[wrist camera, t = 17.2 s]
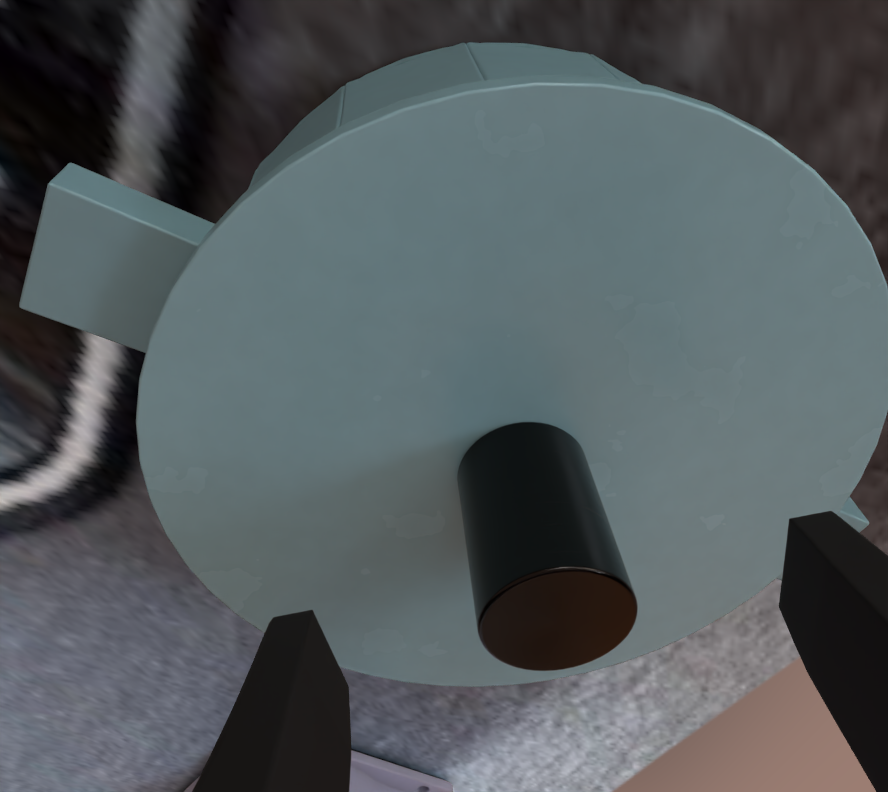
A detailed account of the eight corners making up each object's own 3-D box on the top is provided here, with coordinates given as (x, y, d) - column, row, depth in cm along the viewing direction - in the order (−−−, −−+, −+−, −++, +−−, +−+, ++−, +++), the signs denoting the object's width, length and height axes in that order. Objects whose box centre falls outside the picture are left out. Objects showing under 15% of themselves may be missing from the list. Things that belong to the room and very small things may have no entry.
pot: (624, 569, 25) (678, 722, 20) (51, 379, 19) (-48, 537, 14) (921, 253, 18) (1093, 373, 14) (210, -180, 13) (121, -205, 8)
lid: (596, 694, 20) (645, 878, 16) (73, 559, 16) (-18, 769, 12) (1019, 290, 14) (1258, 446, 10) (325, -143, 9) (293, -149, 5)
